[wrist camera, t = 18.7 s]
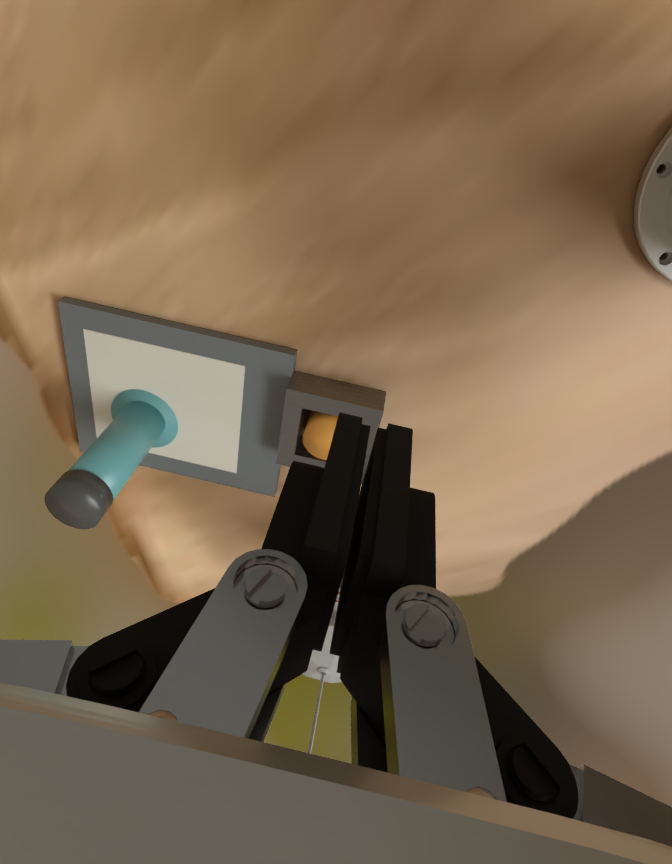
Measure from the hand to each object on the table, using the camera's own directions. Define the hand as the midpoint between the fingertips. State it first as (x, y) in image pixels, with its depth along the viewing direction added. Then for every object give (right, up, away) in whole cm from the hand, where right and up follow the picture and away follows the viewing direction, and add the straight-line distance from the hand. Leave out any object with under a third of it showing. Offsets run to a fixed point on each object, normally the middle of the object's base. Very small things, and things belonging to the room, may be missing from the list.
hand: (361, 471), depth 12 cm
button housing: (-1, +2, +35) cm, 35 cm away
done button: (-1, +2, +34) cm, 34 cm away
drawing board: (-15, +4, +36) cm, 39 cm away
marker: (-18, +2, +36) cm, 41 cm away
